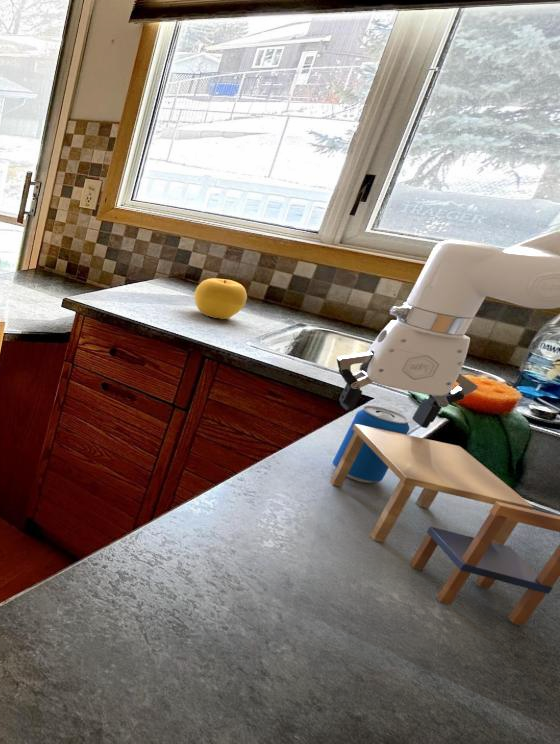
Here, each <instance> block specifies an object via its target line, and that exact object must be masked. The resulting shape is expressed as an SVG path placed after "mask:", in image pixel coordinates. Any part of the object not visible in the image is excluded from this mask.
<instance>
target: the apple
mask: <svg viewBox="0 0 560 744" xmlns="http://www.w3.org/2000/svg"><path fill="white" fill-rule="evenodd" d="M247 299H248V294H247V290H246V288H245V286H243V285H242V284H241V283H239V282H237V281H234V280H231V279H224V278H216V277H215V278H214V277H212V278H207V279H204V280H202V281H201V282H200V283H199V284H198V285H197V287H196V288H195V291H194V302H195V305H196V308H197V310H198V311H199V312H200V313H201V314H203V315H204V316H206V315H207V316H206V317H208V316H211V317H214V318H220V319H219V320H228V319H230V318H232V317H233V316H235V315H236V314H237V313H239V312H240V311H241V310H242V309H243V308H244V306H245V305H246V302H247ZM214 318H213V319H214Z"/></svg>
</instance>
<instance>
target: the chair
mask: <svg viewBox="0 0 560 744" xmlns="http://www.w3.org/2000/svg"><path fill="white" fill-rule="evenodd" d="M506 519H507V520H511V521H515V522H518V523H520V524H524V525H527V526H531V527H532V526H533V527H536V528H541V529H545V530H549V531H553V532H557V533H560V515H556V514H553V513H547V512H543V511H539V510H536V509H532V510H531V509H527V508H523V507H519V506H514V505H510V504H506V503H502V502H497V501H496V502H495V504H494V505H493V504H492V507H491V509H490V510H489V514H488V515H487V517H486V518H485V520H484V522H483V523H482V525H481V527H480V528H479V530H478V531H477V533H476V535H475V536H474V537H473V536H471V535H466V534H462V533H457V532H454V531H450V530H446V529H442V528H438V527H434V526H429V527H428V529H427V530H426V533H427V534H426V535H425V537H424V539H423V540H422V542H421V544H420V545H419V547H418V549H417V550H416V552H415V554H414V555H413V557H412V559H411V560H410V562H409V565H410V566H411V567H412V568H413V569H416V570H419V571H423V570H424V569H425V567H426V565H427V564H428V562H429V560H430V558H431V557H432V555H433V554H434V552H435V551H436V549H437V547H439V548H440V550H442V551H443V553H444V554H445V555H446V556H447V557H448V558H449V559H450V561H452V563H453V564H454V565H455V567H454V568H453V570H452V572H451V573H450V575H449V576H448V578H447V580H446V582H445V583H444V584H443V586H442V587H441V589H440V591H439V592H438V593H437V596H436V598H437V600H438V601H439V603H441V604H445V605H448V606H451V605H452V603H453V602H454V600H455V599H456V597H457V595H458V594H459V592H460V590H461V589H462V588H463V586H464V585H465V583H466V581H467V580H468V578H469V577H470V575H471V574H473V575H477V578H476V579H475V583H476V584H477V585H478V586H479V587H480V588H484V589H488V590H490V588H491V587H492V585H493V584H494V582H495V581H499V582H502V583H506V584H510V585H514V586H517V587H521V588H525V589H526V591H524V594H523V595H522V596H521V598H520V599H519V601H518V602H517V603H516V604H515V606H514V608H513V610H511V612H510V614H509V615H508V616H507V619H508V620H509V621H510V622H511V623H512V624H514V625H518V626H521V627H524V626H525V624H526V623H527V622H528V621H529V620H530V618H531V616H532V615H533V613H534V612H535V610H536V609H537V608H538V606H539V605H540V604H541V602H542V601H543V599H544V598H545V596H546V595H548V594H550V593H551V592H552V590H553V588H554V585H555V584H556V583H557V581H558V580H559V578H560V544H558V546H557V547H556V549H555V550H554V552H553V553H552V555H551V556H550V558H549V559H548V560H547V562H546V563H545V565H544V566H543V567H542V569H541V571H540V572H539V573H538V572H537V571H536V570H535V569H534V568H533V567H532V566H531V565H530V564H529V563H528V562H526V560H524V559H523V557H521V556H520V555H519V554H518V553H517V552H516V551H515V550H514V549H513V548H512V547H511V546H510V545H506V544H504V545H501V544H498V543H494V542H492V541H493V539H494V538H495V536H496V535H497V533H498V531H499V530H500V528H501V527H502V525H503V524H504V522H505V521H506Z"/></svg>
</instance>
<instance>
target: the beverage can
mask: <svg viewBox="0 0 560 744" xmlns="http://www.w3.org/2000/svg"><path fill="white" fill-rule="evenodd" d="M409 423H410V419H409V418H408V417H406V416H405V415H403V414H401V413H399V412H397V411H394V410H392V409H389V408H384V407H380V406H375V405H364V406H363V407H362V409H360V410H358V411H357V412H356V414H355V416H354V418H353V419H352V422H351V424H350V426H349V428H348V429H347V432H346V434H345V436H344V438H343V439H342V442H341V444H340V446H339V447H338V450H337V452H336V454H335V456H334V458H333V460H332V465H333V466H334V467H335V469H336V468H337V466H338V464H339V462H340V460H341V458H342V456H343V454H344V452H345V450H346V448H347V446H348V444H349V442H350V440H351V438H352V436H353V434H354V432H355V431H354V430H353V429H352V428H353V426H354V424H358V425H363V426H368V427H372V428H377V429H382V430H386V431H391V432H396V433H400V434H405V435H408V433H409V432H410V425H409ZM389 469H390V468H389V467H388V466H387V465H386V464H385V463H384V462H383V461H382V460H381V459H380V458H379V457H378V456H377V455H376V453H375V452H374V451H373V450H372V449H371V448H370V447H369V446H368V445H367V444H366V443H365V442H364V443H363V445H362V447H361V449H360V451H359V453H358V455H357V457H356V459H355V461H354V463H353V465H352V467H351V469H350V471H349V473H348V475H347V476H346V478H349V479H351V480H353V481H357V482H361V483H364V484H365V483H366V484H374V483H379V482H380V483H381V482H382V481H383V479H384V478H385V476H386V474H387V472H388V471H389Z"/></svg>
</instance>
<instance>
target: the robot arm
mask: <svg viewBox="0 0 560 744" xmlns="http://www.w3.org/2000/svg"><path fill="white" fill-rule="evenodd" d="M486 297H489V298H493V299H496V300H499V301H504V302H507V303H511V304H514V305H518V306H520V307H525V308H529V309H535V310H537V309H539V310H551V309H559V308H560V229H558V230H555V231H552V232H549V233H546V234H543V235H540V236H537V237H535V238H532V239H528V240H526V241H523V242H520V243H518V244H515V245H512V246H509V247H508V248H505V249H501V248H499V247H496V246H493V245H488V244H483V243H478V242H473V241H465V240H456V239H455V240H454V239H449V240H443V241H440V242H438V243H437V244H436V245H435V246H434V247H433V249H432V250H431V252H430V254H429V256H428V258H427V260H426V262H425V264H424V266H423V268H422V270H421V272H420V274H419V276H418V278H417V279H416V282H415V283H414V286H413V287H412V289H411V291H410V293H409V294H408V297H407V299H406V301H405V302H403V303H402V305H401V306H392V307H391V308H390V309H389V314H390V316H391V315H392V316H395V317H396V319H392V320H390V321H389V322H388V323H387V324H386V325H385V327H384V328H383V329H382V330H381V331H380V332H379V334H378V335H377V336H376V338H375V339H374V341H373V343H372V344H371V345H370V346H369V348H368V349H367V352H360V353H354V354H349V355H348V354H346V355H341V356H338V357H337V358H336V362H337V367H338V373H339V375H340V376H341V377H342V379H343V380H344V382H345V383H346V384H345V386H344V388H343V390H342V392H341V394H340V396H339V399H338V401H339V404H340V406H341V407H342V408H343V409H344V411H347V412H354V409H355V408H356V405H357V403H358V402H359V400H360V399H361V396H362V395H363V390H362V389H361V388H363V387H366V386H367V385H371V384H372V383H373V384H376V385H379V386H383V387H388V388H394V389H398V390H401V391H407V392H408V391H409V392H412V393H413V392H414V393H417V394H422V395H427V396H428V398H426V397H425V398H423V399H422V400H421V402H420V403H419V405H418V407H417V409H416V411H415V413H414V414H413V416H412V421H414V422H415V423H416V424H417V425H418V426H420V427H421V428H423V429H428V427H430V425H431V423H433V422H434V421H435V420H436V418H437V416H438V415H439V413H440V411H441V409H443V408H447V407H448V406H449V405H450V404H453V403H456V402H459V401H462V400H464V398H465V397H466V396H468V395H470V394H472V393H473V392H475V391H477V390H478V389H479V386H478V384H476V383H475V382H473V381H472V380H470V379H469V378H467V377H466V376H464V375H463V374H461V371H462V369H463V366H464V364H465V361H466V358H467V354H468V350H469V348H470V342H471V337H469V336H467V335H466V333H467V331H468V329H469V327H470V326H471V324H472V322H473V320H474V318H475V317H476V314H477V313H478V311H479V310H480V308H481V306H482V304H483V302H484V300H486ZM358 364H359V365H360V366H359V371H357V372H355V373H353V372H352V369H351V367H352V366H353V365H358ZM456 383H457V386H455V384H456ZM454 386H455V387H454ZM453 387H454V388H453Z"/></svg>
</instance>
